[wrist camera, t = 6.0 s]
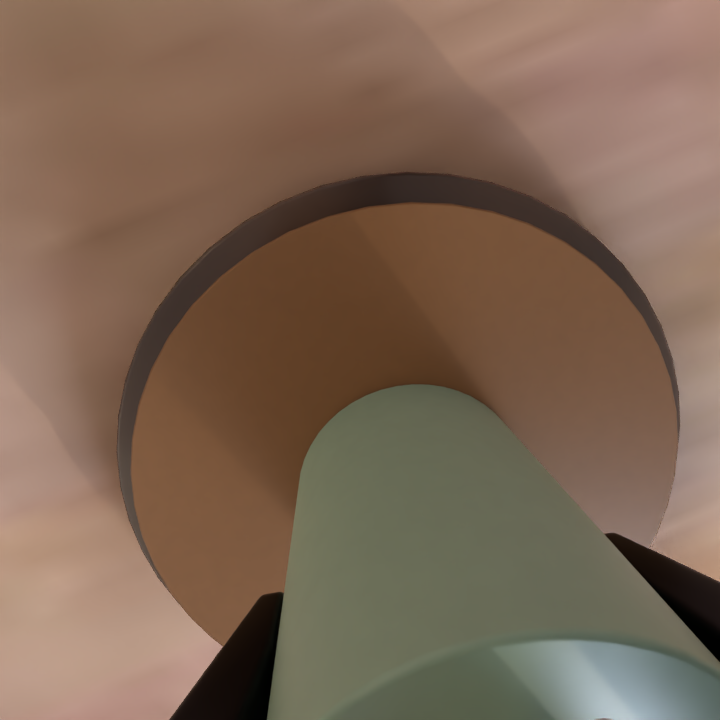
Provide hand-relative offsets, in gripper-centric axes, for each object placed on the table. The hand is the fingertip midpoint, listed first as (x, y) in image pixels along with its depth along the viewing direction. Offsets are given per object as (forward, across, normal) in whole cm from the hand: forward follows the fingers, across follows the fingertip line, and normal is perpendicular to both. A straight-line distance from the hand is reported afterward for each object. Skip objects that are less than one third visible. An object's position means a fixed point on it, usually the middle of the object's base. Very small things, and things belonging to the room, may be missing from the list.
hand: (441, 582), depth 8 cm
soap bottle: (+4, 0, 0) cm, 4 cm away
